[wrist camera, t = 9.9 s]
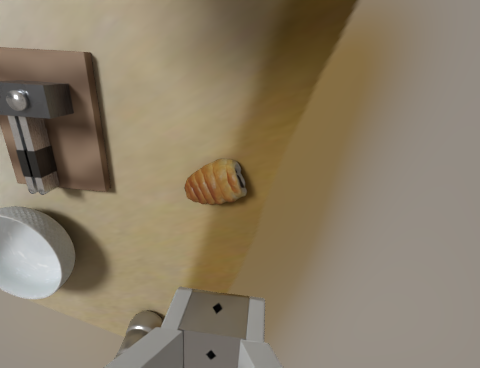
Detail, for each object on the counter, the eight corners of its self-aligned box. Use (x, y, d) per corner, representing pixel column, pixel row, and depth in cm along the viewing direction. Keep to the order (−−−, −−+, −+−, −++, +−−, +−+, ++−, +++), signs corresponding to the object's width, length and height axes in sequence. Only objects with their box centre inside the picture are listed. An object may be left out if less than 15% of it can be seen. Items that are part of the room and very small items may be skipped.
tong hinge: (19, 80, 37) (-17, 81, 32) (68, 83, 36) (39, 85, 32) (26, 109, 39) (-7, 115, 34) (74, 113, 38) (46, 119, 33)
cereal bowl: (7, 178, 45) (-37, 196, 39) (99, 221, 47) (72, 245, 41) (-3, 249, 52) (-41, 274, 46) (78, 284, 54) (52, 314, 47)
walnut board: (-13, 46, 37) (-24, 45, 36) (90, 52, 36) (83, 52, 35) (25, 179, 45) (17, 183, 44) (110, 187, 44) (105, 191, 43)
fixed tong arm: (26, 112, 39) (5, 115, 36) (33, 112, 38) (14, 116, 36) (44, 185, 43) (28, 193, 40) (51, 185, 43) (35, 194, 40)
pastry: (196, 206, 44) (190, 218, 41) (179, 170, 42) (171, 179, 38) (250, 191, 42) (248, 202, 38) (235, 151, 40) (232, 159, 36)
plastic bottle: (138, 302, 54) (70, 421, 35) (170, 313, 54) (119, 437, 36) (132, 322, 56) (66, 444, 38) (163, 333, 57) (112, 458, 38)
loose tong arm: (36, 113, 38) (16, 116, 36) (44, 113, 38) (25, 117, 35) (54, 186, 43) (38, 194, 40) (61, 186, 43) (45, 195, 40)
